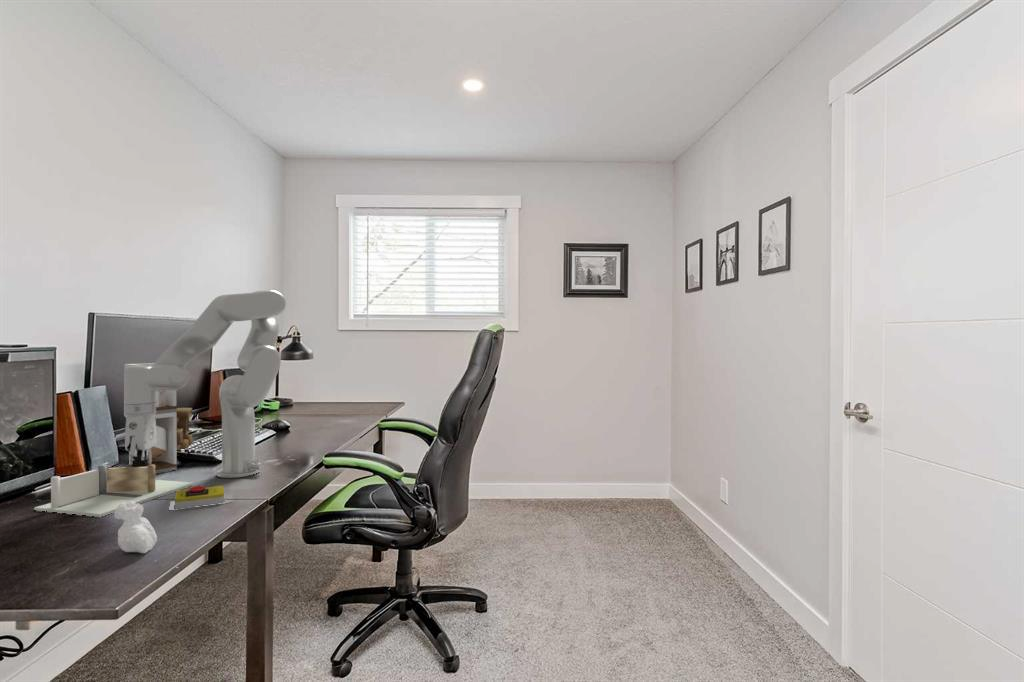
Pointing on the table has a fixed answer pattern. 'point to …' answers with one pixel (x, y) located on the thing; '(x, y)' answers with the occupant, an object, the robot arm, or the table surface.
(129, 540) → the white tied sack
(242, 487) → the table surface
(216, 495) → the emergency button
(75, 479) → the fixed fence section
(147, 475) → the wooden panel
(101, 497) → the board
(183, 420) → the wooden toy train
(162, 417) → the white wooden-base stand
